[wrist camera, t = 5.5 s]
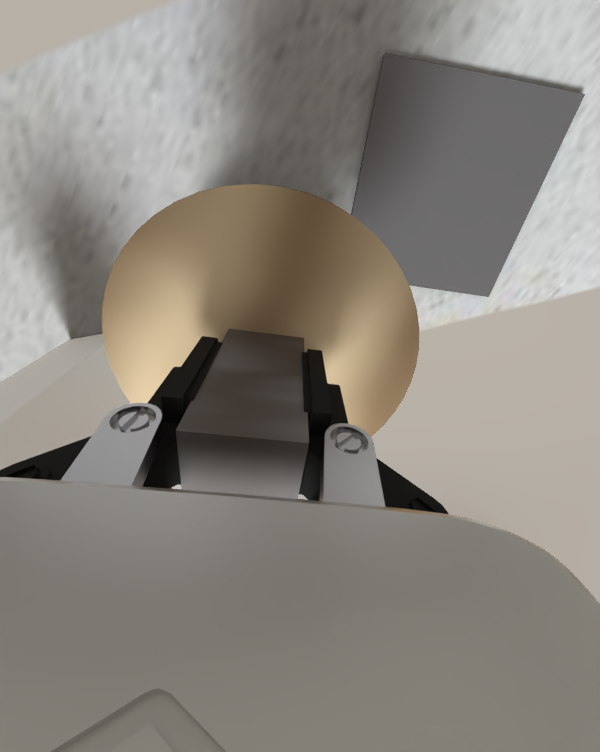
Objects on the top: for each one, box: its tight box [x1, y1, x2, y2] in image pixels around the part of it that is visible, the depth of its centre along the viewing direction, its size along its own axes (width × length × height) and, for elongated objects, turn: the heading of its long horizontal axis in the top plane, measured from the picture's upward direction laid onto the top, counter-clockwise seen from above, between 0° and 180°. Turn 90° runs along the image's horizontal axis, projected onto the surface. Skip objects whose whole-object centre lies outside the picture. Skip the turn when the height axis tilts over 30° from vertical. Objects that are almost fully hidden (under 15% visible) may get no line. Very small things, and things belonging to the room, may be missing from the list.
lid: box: [102, 184, 419, 499], centre depth 10 cm, size 13×13×7 cm
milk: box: [0, 334, 130, 470], centre depth 22 cm, size 6×6×22 cm
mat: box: [351, 53, 585, 297], centre depth 23 cm, size 14×14×1 cm
